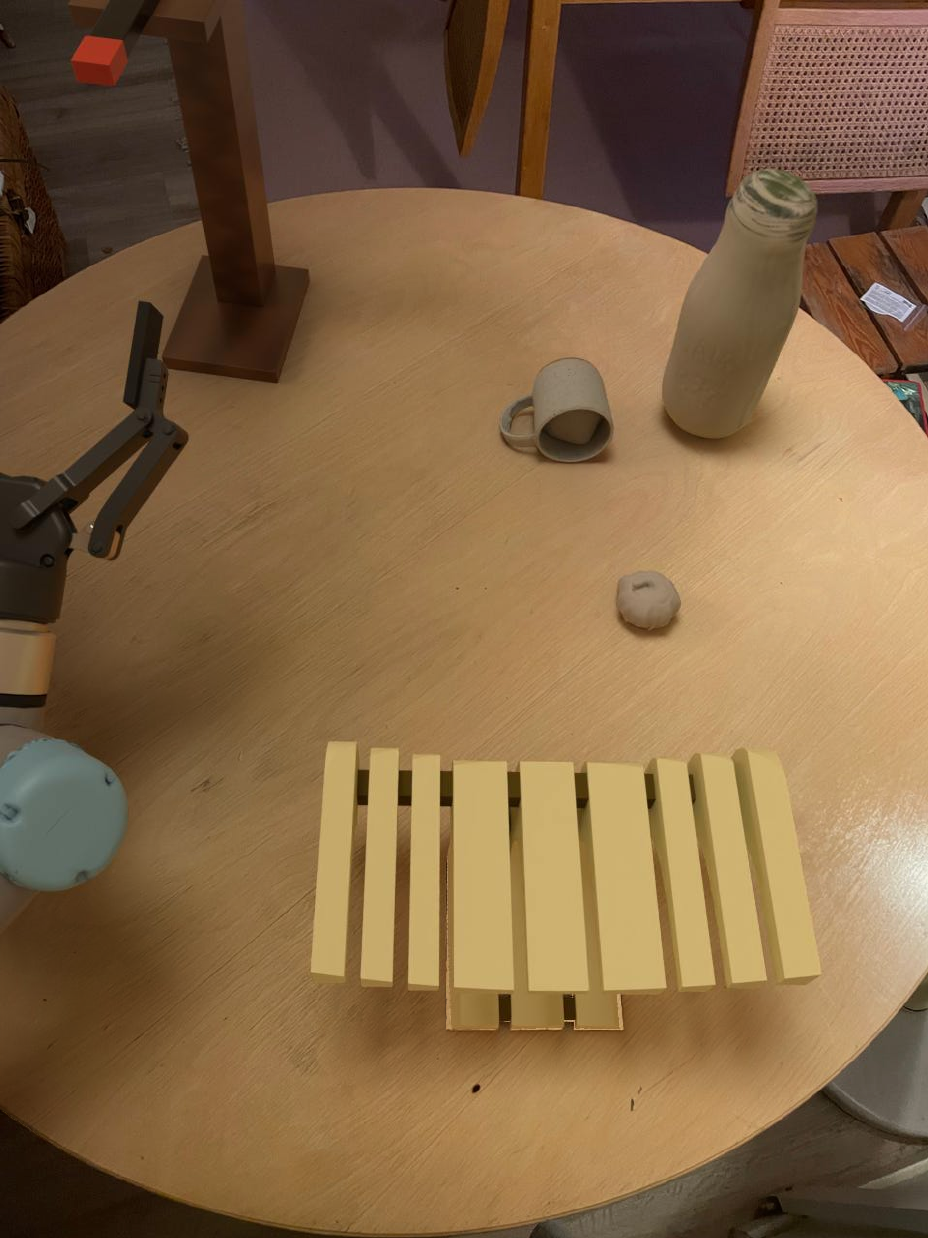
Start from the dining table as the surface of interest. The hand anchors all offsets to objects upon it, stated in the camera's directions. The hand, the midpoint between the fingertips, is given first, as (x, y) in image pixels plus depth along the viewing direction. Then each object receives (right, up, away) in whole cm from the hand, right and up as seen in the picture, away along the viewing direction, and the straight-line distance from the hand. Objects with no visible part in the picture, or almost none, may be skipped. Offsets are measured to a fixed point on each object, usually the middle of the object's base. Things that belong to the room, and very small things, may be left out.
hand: (48, 293), depth 67 cm
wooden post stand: (+3, +11, +45) cm, 46 cm away
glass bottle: (+51, 0, +41) cm, 66 cm away
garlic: (+43, -21, +28) cm, 56 cm away
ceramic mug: (+36, -2, +39) cm, 53 cm away
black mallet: (+3, +24, +9) cm, 26 cm away
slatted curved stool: (+32, -44, +13) cm, 56 cm away
